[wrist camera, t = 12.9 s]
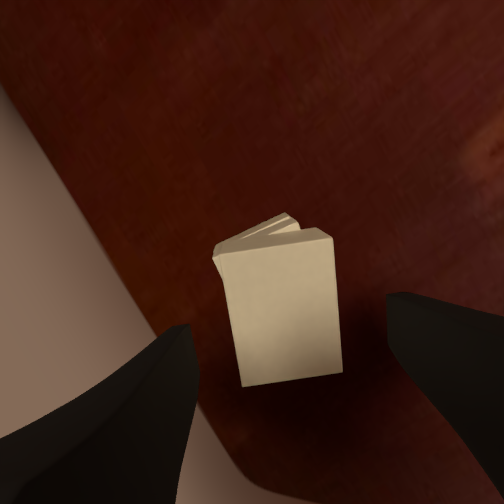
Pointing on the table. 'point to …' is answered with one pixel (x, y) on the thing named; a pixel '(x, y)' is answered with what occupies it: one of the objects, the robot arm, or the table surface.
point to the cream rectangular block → (283, 305)
